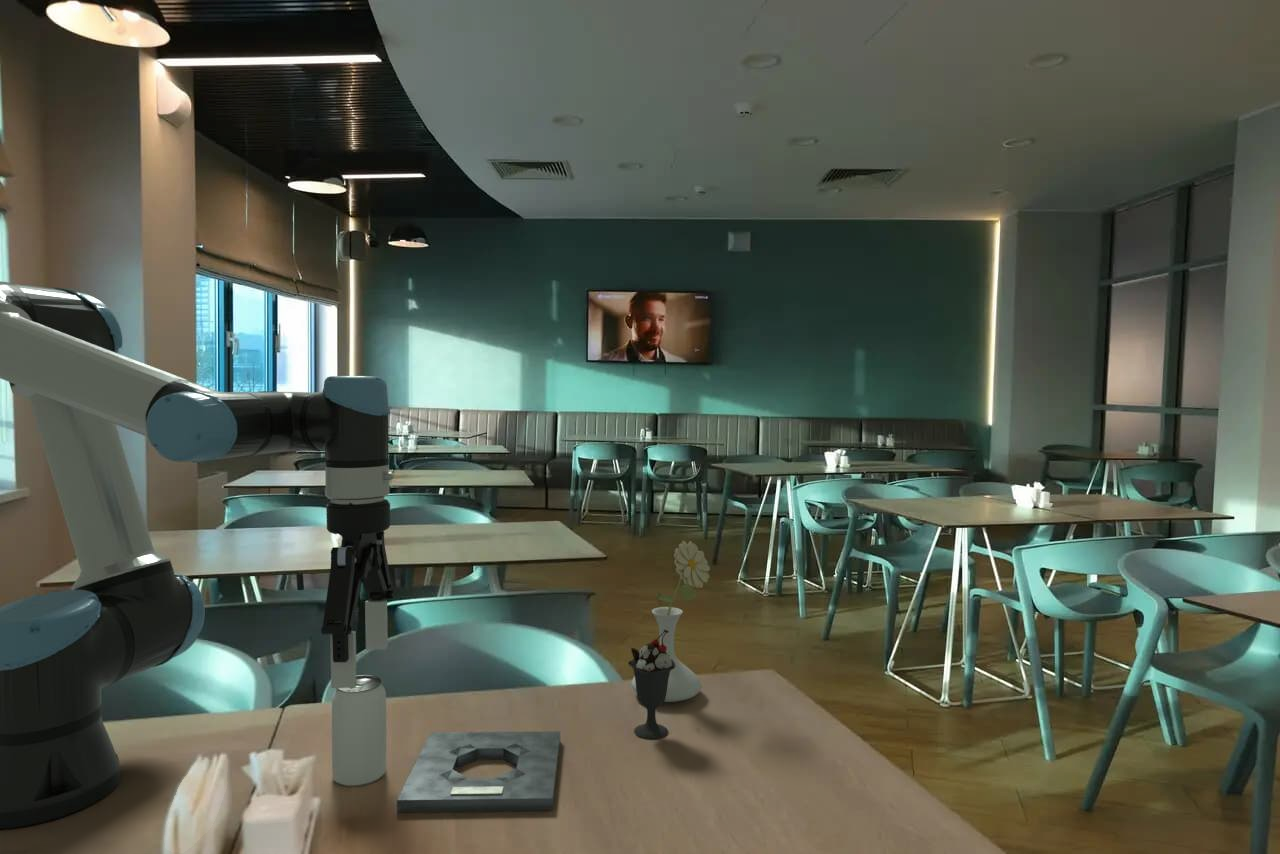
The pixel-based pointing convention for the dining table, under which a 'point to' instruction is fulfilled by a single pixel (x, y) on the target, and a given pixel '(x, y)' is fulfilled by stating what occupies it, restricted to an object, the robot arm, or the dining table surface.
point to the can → (359, 732)
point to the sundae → (651, 684)
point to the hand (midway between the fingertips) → (361, 666)
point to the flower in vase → (693, 573)
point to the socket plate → (513, 791)
